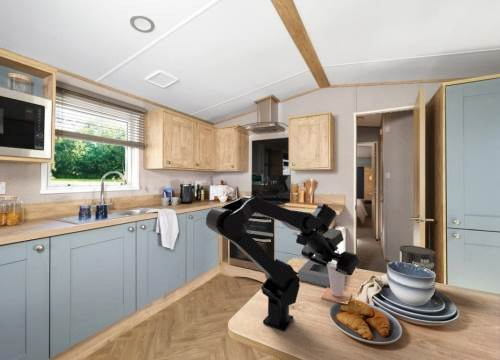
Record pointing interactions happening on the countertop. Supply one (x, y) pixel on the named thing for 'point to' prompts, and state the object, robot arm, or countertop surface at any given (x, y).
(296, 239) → the robot arm
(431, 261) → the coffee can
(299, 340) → the countertop surface
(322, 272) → the socket block
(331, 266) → the smoothie
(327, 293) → the tile
